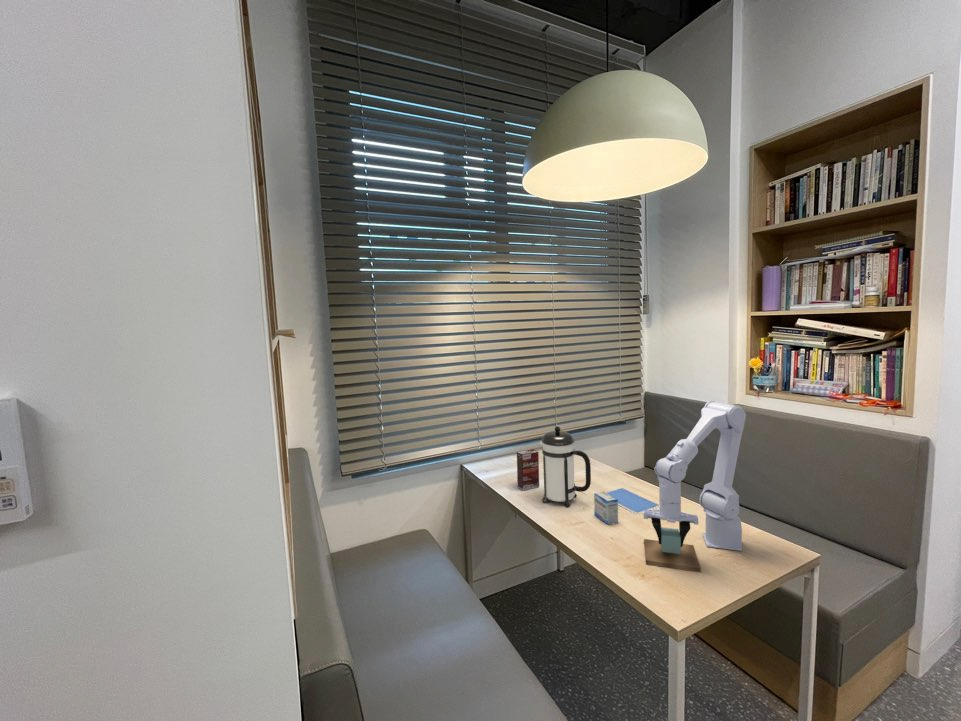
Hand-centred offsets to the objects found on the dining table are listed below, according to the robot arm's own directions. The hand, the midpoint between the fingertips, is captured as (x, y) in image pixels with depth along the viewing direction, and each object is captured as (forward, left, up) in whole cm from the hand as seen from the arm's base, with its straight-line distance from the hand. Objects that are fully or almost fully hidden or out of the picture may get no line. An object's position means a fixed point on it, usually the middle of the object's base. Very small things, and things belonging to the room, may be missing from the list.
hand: (670, 543), depth 119 cm
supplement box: (+52, -40, -4) cm, 66 cm away
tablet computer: (+11, -36, -5) cm, 38 cm away
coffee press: (+36, -31, -4) cm, 48 cm away
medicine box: (+19, -19, -4) cm, 27 cm away
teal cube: (0, 0, -2) cm, 2 cm away
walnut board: (0, 0, -4) cm, 4 cm away
